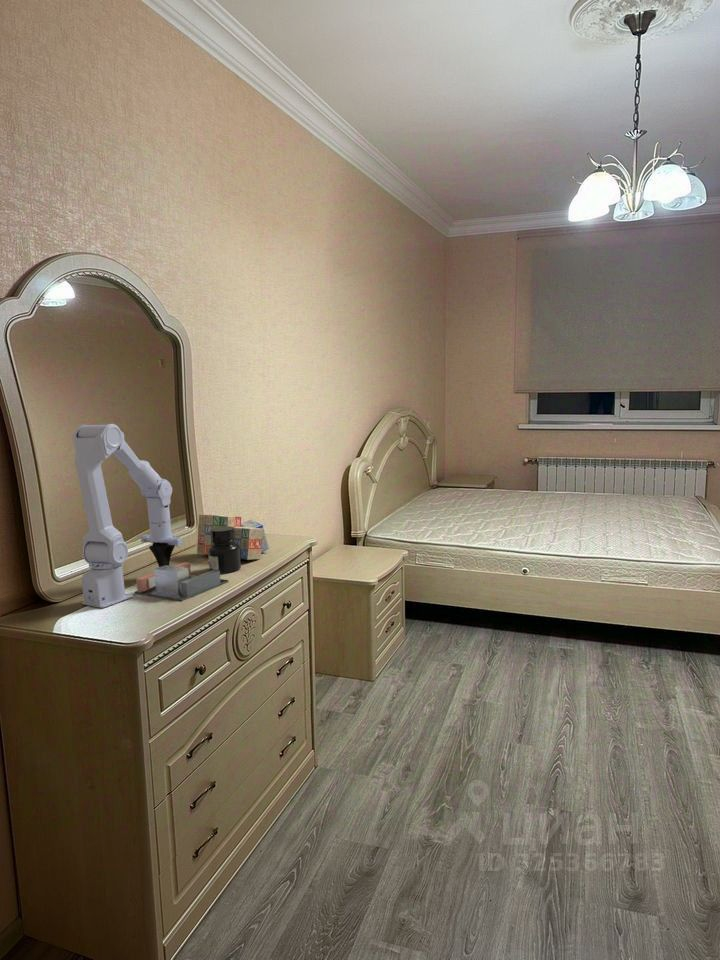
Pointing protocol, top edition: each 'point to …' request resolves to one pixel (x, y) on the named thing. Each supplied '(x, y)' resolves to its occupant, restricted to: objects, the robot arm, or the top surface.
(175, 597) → the vise bed
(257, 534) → the stack of blocks
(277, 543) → the top surface
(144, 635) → the top surface
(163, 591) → the steel block
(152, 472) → the robot arm
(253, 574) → the top surface
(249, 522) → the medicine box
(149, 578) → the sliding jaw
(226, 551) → the ink bottle
